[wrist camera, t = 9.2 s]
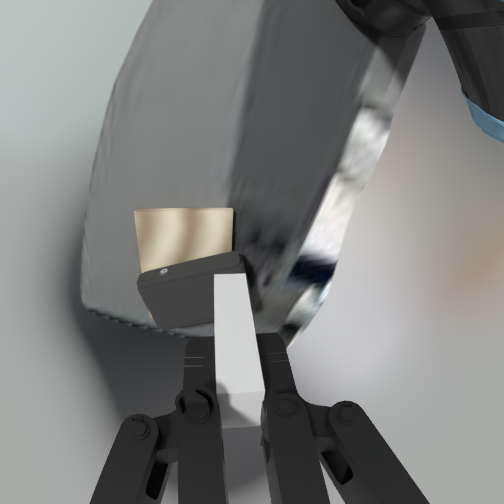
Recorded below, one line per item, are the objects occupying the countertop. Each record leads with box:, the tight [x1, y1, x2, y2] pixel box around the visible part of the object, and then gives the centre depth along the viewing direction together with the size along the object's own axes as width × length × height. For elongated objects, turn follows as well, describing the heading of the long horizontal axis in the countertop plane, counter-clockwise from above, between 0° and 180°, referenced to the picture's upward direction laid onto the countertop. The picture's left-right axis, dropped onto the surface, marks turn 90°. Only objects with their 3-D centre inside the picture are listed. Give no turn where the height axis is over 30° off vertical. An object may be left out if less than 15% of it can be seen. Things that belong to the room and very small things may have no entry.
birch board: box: [134, 208, 233, 318], centre depth 40 cm, size 13×18×1 cm
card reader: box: [137, 251, 254, 330], centre depth 40 cm, size 9×4×15 cm
